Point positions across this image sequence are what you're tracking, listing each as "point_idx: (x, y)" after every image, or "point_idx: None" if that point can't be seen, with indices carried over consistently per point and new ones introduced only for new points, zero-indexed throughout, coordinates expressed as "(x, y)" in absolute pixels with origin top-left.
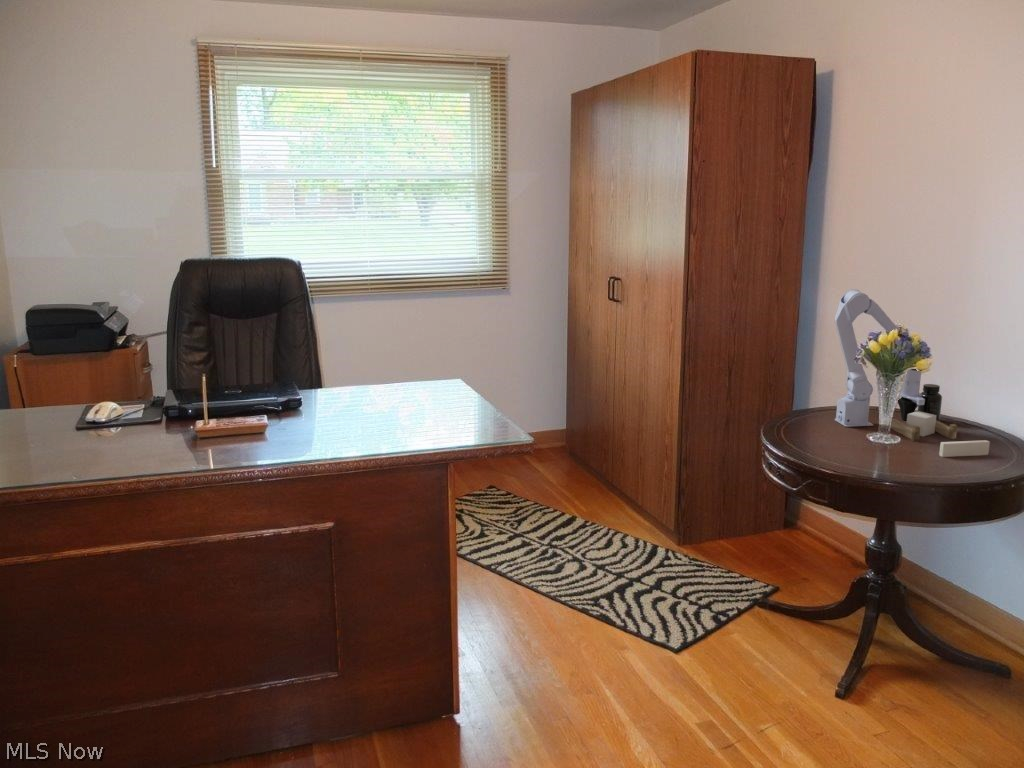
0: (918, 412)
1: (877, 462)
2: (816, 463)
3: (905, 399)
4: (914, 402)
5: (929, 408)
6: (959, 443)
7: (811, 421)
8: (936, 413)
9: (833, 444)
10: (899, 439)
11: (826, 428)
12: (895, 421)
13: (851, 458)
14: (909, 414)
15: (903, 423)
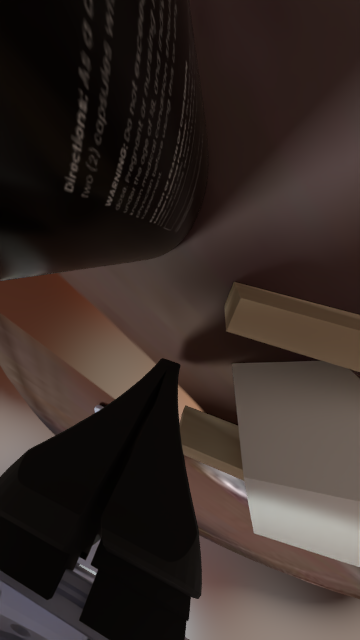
0: (276, 504)
1: (353, 570)
2: (279, 567)
3: (77, 555)
4: (184, 595)
5: (140, 225)
6: None
7: None
8: (198, 130)
9: (226, 521)
10: None
11: None
12: (209, 464)
13: (299, 558)
14: (268, 537)
15: None
